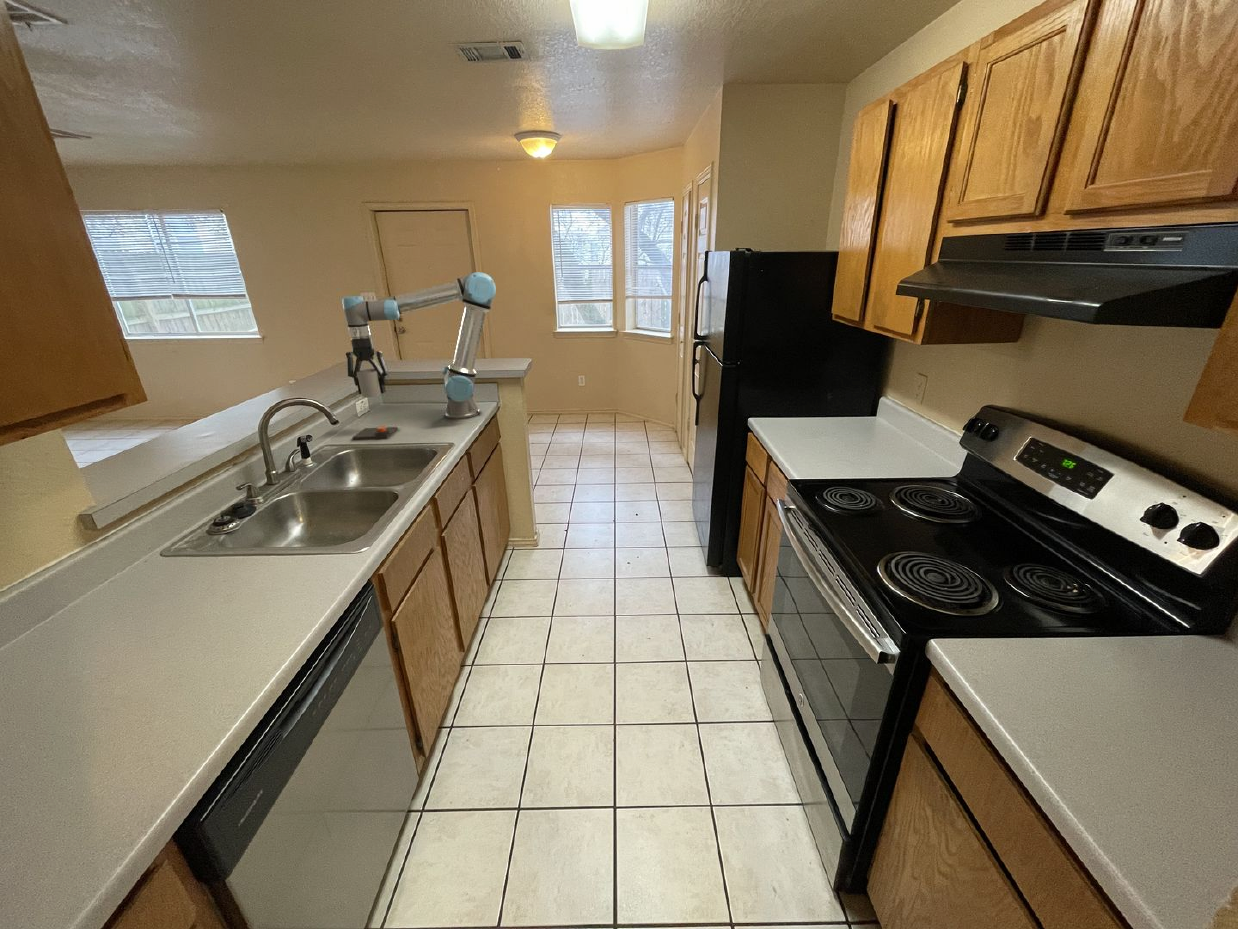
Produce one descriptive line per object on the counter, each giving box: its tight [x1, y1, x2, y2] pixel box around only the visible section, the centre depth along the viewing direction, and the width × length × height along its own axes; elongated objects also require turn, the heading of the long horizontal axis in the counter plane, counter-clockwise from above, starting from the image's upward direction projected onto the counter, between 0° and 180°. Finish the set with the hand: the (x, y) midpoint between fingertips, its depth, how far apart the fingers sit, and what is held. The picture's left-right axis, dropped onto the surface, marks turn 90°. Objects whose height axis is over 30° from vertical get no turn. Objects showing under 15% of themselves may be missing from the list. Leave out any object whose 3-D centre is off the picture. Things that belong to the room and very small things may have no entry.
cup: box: [357, 368, 385, 398], centre depth 208 cm, size 8×8×10 cm
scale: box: [352, 426, 399, 441], centre depth 213 cm, size 14×12×3 cm
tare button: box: [377, 426, 387, 432], centre depth 209 cm, size 3×3×2 cm
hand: (372, 392), depth 210 cm, fingers closed on cup, 8 cm apart
